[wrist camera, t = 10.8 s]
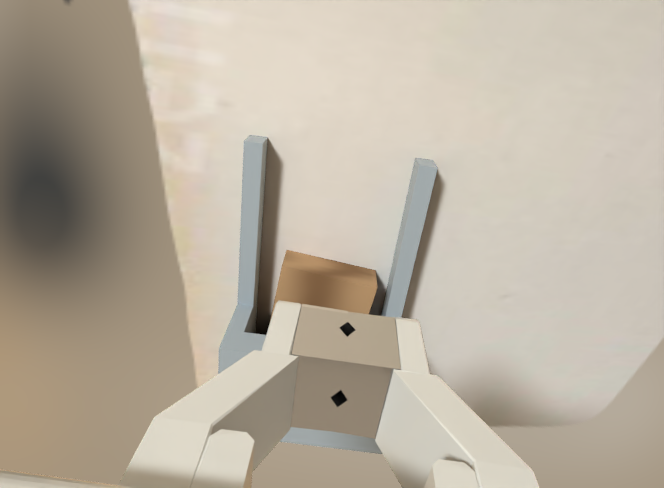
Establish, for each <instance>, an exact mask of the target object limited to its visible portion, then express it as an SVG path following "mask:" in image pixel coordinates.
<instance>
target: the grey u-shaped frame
mask: <svg viewBox="0 0 664 488" xmlns="http://www.w3.org/2000/svg"><path fill="white" fill-rule="evenodd" d="M267 140H268V138H267V137H260V136H252V135H250V136H249V137H248V138H247V139H246V140H244V153H243V179H242V205H241V231H240V257H239V283H238V304H237V307H236V309H235V312H234V314H233V316H232V319H231V321H230V323H229V326H228V328H227V331H226V333H225V335H224V338H223V340H222V342H221V345H220V347H219V371H218V374H219V373H221V372H222V371H224V370H225V369H227V368H228V367H230V366H231V365H233V364H234V363H236V362H237V361H239V360H240V359H242V358H243V357H245V356H246V355H248V354H249V353H251V352H252V351H254V350H258V351H262V347H263V344H264V341H265V338H266V335H263V334H255V331H256V315H257V299H258V284H259V268H260V252H261V236H262V220H263V204H264V188H265V172H266V156H267ZM437 169H438V167H437V166H436V164H435V163H434V161H433V160H426V159H419V158H415V162H414V167H413V172H412V176H411V181H410V185H409V190H408V195H407V199H406V204H405V208H404V213H403V217H402V222H401V227H400V231H399V236H398V240H397V245H396V250H395V254H394V259H393V263H392V268H391V272H390V277H389V282H388V286H387V291H386V295H385V300H384V304H383V309H382V314H381V316H386V317H393V318H394V317H400V318H401V316H402V312H403V308H404V304H405V300H406V296H407V292H408V288H409V284H410V279H411V275H412V271H413V267H414V263H415V259H416V255H417V251H418V247H419V243H420V239H421V234H422V230H423V226H424V222H425V218H426V214H427V210H428V206H429V202H430V198H431V193H432V189H433V185H434V181H435V177H436V173H437ZM280 442H287V443H295V444H303V445H312V446H320V447H328V448H336V449H345V450H353V451H361V452H370V453H378V454H382V452H381V450H380V448H379V447H378V445H377V443H376V441H375V439H374V438H368V437H362V436H356V435H350V434H344V433H338V432H331V431H322V430H313V429H304V428H295V427H290V430H289V431H288V433H287V434H286V435H285V436H284V437H283V438H282V439H281V441H280Z"/></svg>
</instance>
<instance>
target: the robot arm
mask: <svg viewBox="0 0 664 488" xmlns="http://www.w3.org/2000/svg"><path fill="white" fill-rule="evenodd" d="M290 427H295V428H304V429H313V430H322V431H331V432H338V433H344V434H350V435H356V436H362V437H368V438H374V439H375V441H376V443H377V445H378V447H379V448H380V450H381V452H382V454H383V455H384V457H385V459H386V460H387V462H388V464H389V465H390V467H391V469H392V471H393V472H394V474H395V476H396V477H397V479H398V481H399V483H400V484H401V486H402V488H540V487H539V485H538V482H537V480H536V477H535V474H534V472H533V470H532V469H531V468H530V467H529V466H528V465H527V464H526V463H525V462H524V461H523V460H522V459H521V458H520V457H519V456H518V455H517V454H516V453H515V452H514V451H513V450H512V449H511V448H510V447H509V446H508V445H507V444H506V443H505V442H504V441H503V440H502V439H501V438H500V437H499V436H498V435H497V434H496V433H495V432H494V431H493V430H492V429H491V428H490V427H489V426H488V425H487V424H486V423H485V422H484V421H483V420H482V419H481V418H480V417H479V416H478V415H477V414H476V413H475V412H474V411H473V410H472V409H471V408H470V407H469V406H468V405H467V404H466V403H465V402H464V401H463V400H462V399H461V398H460V397H459V396H458V395H457V394H456V393H455V392H454V391H453V390H452V389H451V388H450V387H449V386H448V385H447V384H446V383H445V382H444V381H443V380H442V379H441V378H440V377H439V376H437V375H431V374H430V370H429V365H428V360H427V355H426V350H425V346H424V341H423V336H422V331H421V326H420V322H419V321H418V320H417V319H409V318H400V317H394V318H393V317H386V316H378V315H370V314H363V313H355V312H348V311H344V310H338V309H332V308H326V307H320V306H313V305H307V304H302V305H301V304H300V303H294V302H287V301H280V300H278V302H277V303H276V305H275V308H274V311H273V315H272V318H271V321H270V324H269V328H268V331H267V334H266V338H265V341H264V344H263V347H262V351H258V350H254V351H252V352H251V353H249V354H248V355H246V356H245V357H243V358H242V359H240V360H239V361H237V362H236V363H234V364H233V365H231V366H230V367H228V368H227V369H225V370H224V371H222V372H221V373H219V374H218V375H216V376H215V377H213V378H212V379H210V380H209V381H207V382H206V383H204V384H203V385H201V386H200V387H198V388H197V389H195V390H194V391H192V392H191V393H190V394H188V395H187V396H185V397H184V398H182V399H181V400H179V401H178V402H176V403H175V404H173V405H172V406H170V407H169V408H167V409H166V410H164V411H163V412H161V413H160V414H158V415H157V416H155V417H154V419H153V420H152V422H151V424H150V426H149V428H148V430H147V432H146V434H145V435H144V438H143V439H142V441H141V443H140V445H139V447H138V449H137V450H136V452H135V454H134V456H133V458H132V460H131V462H130V464H129V465H128V467H127V469H126V471H125V473H124V475H123V477H122V479H121V480H120V483H119V484H118V485H112V484H105V483H98V482H91V481H83V480H76V479H69V478H62V477H54V476H47V475H39V474H32V473H25V472H18V471H11V470H3V469H0V488H251V484H252V472H253V471H254V470H255V469H256V468H257V466H258V465H259V464H260V463H261V462H262V461H263V460H264V458H265V457H266V456H267V455H268V454H269V453H270V452H271V451H272V450H273V448H274V447H275V446H276V445H277V444H278V443H279V442H280V441H281V439H282V438H283V437H284V436H285V435H286V434H287V433H288V431H289V430H290Z"/></svg>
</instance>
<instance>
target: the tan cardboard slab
mask: <svg viewBox="0 0 664 488" xmlns="http://www.w3.org/2000/svg"><path fill="white" fill-rule="evenodd" d="M376 291H377V279H376V271H375V270H372V269H367V268H363V267H359V266H354V265H350V264H346V263H341V262H337V261H332V260H328V259H324V258H319V257H315V256H311V255H306V254H302V253H298V252H293V251H289V250H287V251H286V254H285V258H284V261H283V264H282V268H281V273H280V278H279V282H278V287H277V292H276V296H275V301H274V306H273V310H272V315H273V311H274V308H275V305H276V303H277V302H278V300H280V301H287V302H294V303H300V304H301V305H302V304H307V305H313V306H320V307H326V308H332V309H338V310H344V311H348V312H355V313H363V314H369V312H370V309H371V306H372V303H373V300H374V297H375V294H376ZM272 315H271V318H272ZM270 321H271V320H270Z"/></svg>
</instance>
